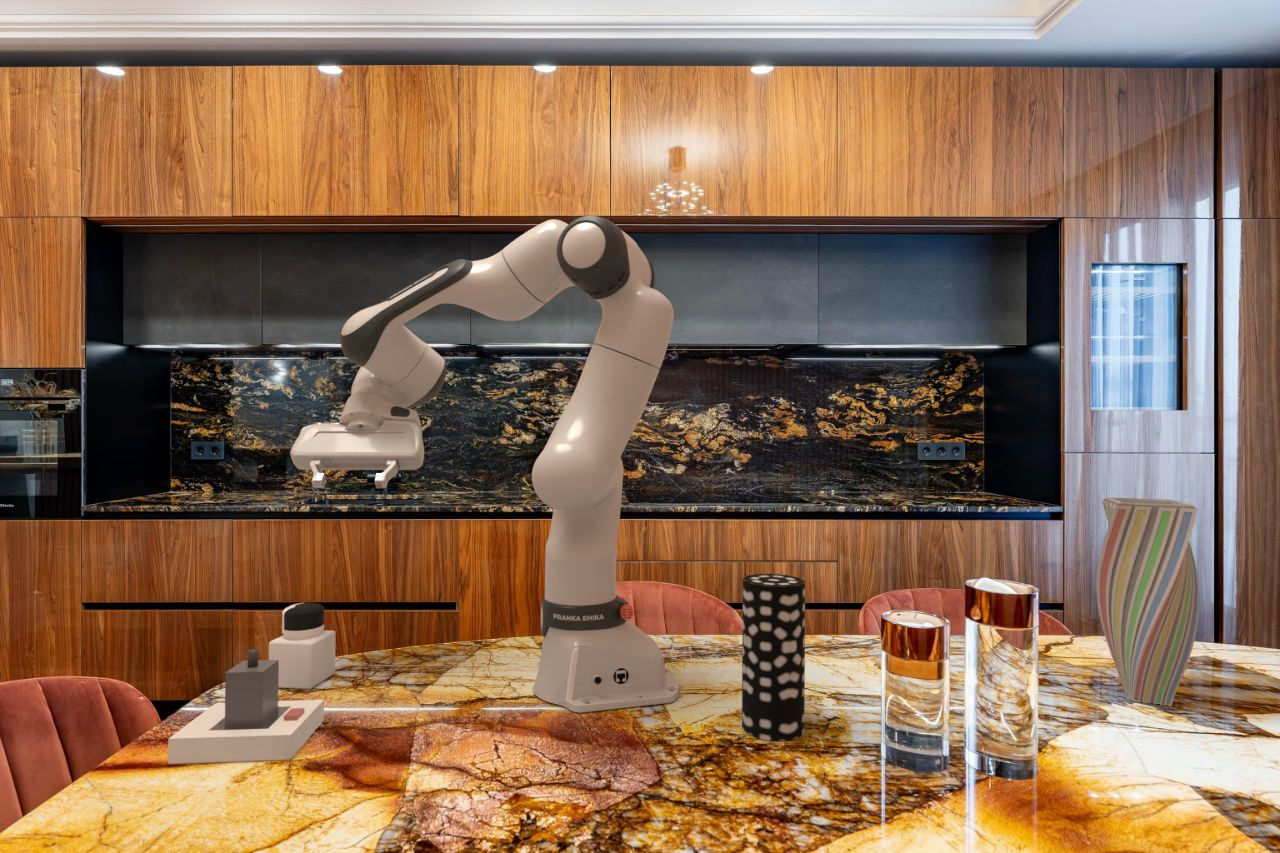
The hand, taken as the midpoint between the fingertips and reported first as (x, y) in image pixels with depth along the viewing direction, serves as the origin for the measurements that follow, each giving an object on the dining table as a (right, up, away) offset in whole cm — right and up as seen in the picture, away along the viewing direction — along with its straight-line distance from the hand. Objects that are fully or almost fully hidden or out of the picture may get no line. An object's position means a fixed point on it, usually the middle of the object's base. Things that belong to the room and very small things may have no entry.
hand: (348, 485), depth 107 cm
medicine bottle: (-8, -32, +3) cm, 33 cm away
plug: (-4, -30, -19) cm, 36 cm away
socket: (-4, -31, -19) cm, 37 cm away
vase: (+123, -32, -2) cm, 127 cm away
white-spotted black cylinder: (+63, -32, -14) cm, 72 cm away
